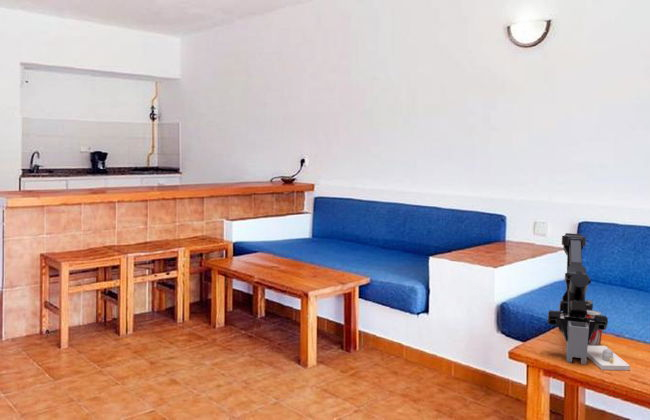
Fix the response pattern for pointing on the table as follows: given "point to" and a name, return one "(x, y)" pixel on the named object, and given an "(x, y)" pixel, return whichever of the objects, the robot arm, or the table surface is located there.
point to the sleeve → (577, 341)
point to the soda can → (596, 335)
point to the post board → (605, 364)
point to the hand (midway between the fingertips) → (577, 342)
